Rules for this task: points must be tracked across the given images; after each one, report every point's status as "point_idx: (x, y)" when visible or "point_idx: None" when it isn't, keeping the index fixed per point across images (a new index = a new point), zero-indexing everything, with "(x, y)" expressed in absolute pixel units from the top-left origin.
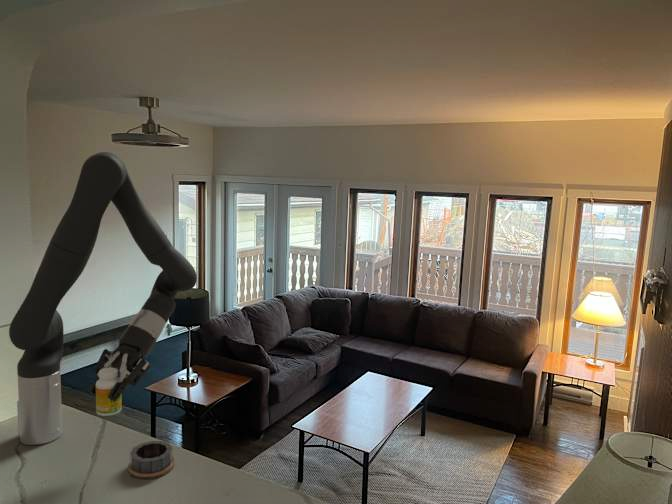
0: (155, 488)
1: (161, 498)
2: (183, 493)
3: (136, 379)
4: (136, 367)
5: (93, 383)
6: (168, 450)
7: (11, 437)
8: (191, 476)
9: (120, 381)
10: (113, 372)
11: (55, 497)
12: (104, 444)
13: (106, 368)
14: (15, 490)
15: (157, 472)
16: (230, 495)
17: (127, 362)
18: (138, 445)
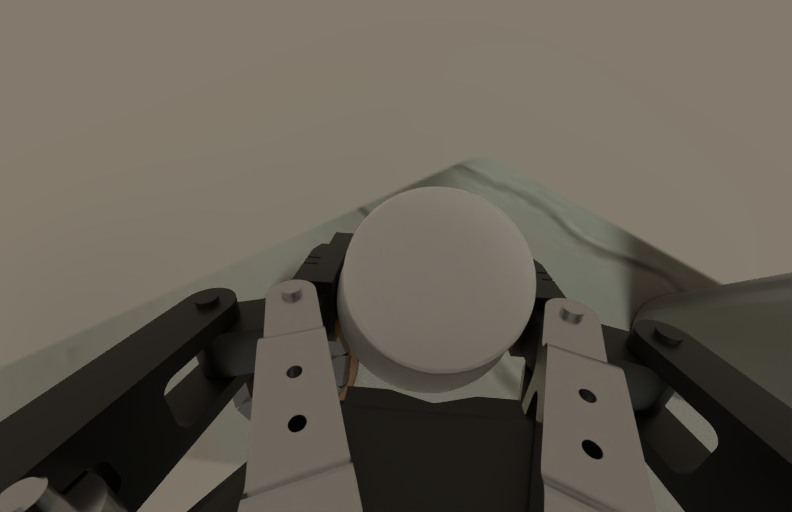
0: (241, 296)
1: (209, 274)
2: None
3: (189, 389)
4: (62, 422)
5: (548, 279)
6: (241, 391)
7: None
8: (185, 374)
9: (288, 282)
10: (351, 260)
11: (406, 189)
12: (499, 396)
13: (511, 309)
14: (492, 173)
15: None
16: (64, 350)
17: (254, 477)
18: (342, 372)
